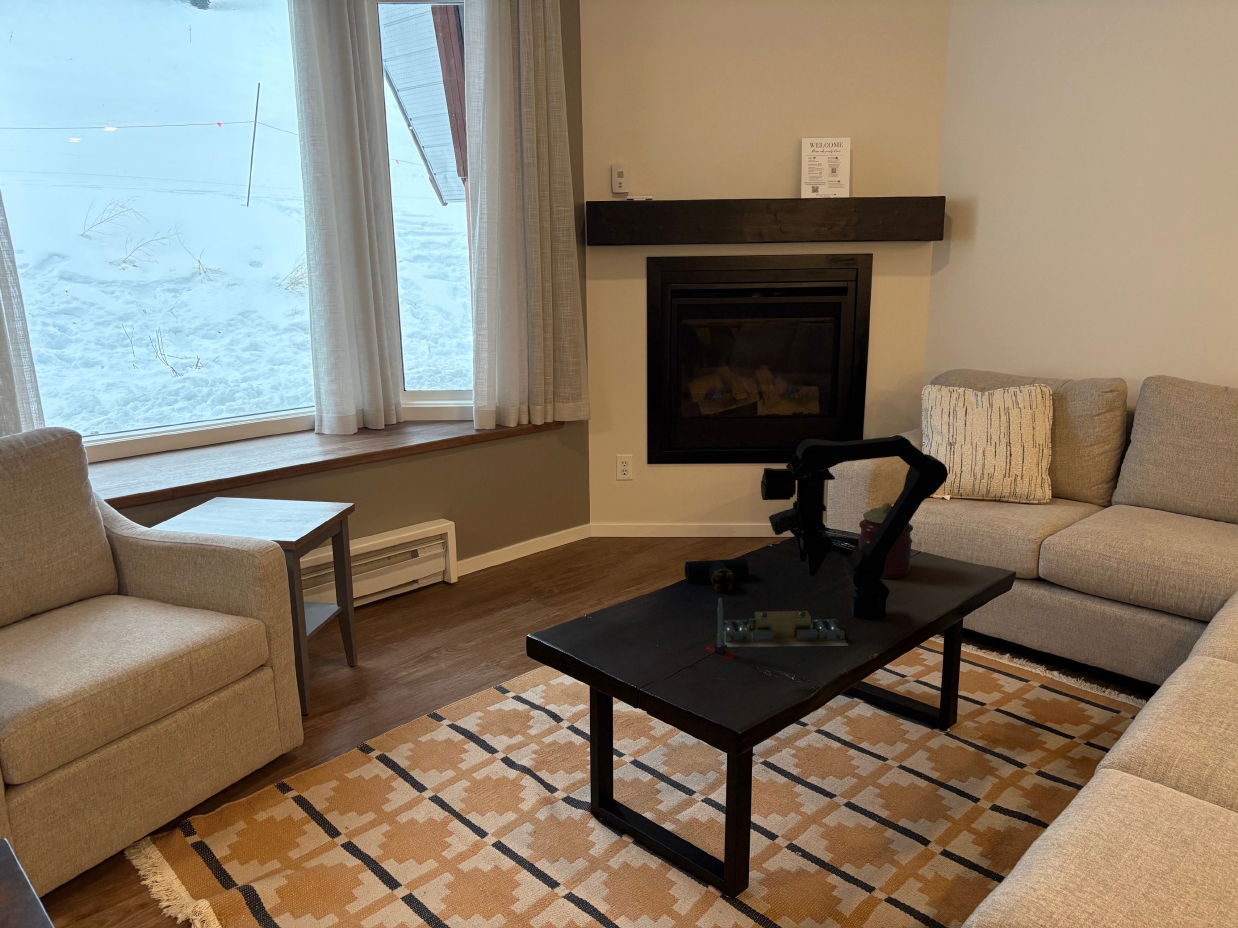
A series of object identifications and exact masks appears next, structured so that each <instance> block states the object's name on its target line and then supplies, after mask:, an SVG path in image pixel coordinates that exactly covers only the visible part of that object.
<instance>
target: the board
mask: <svg viewBox="0 0 1238 928" xmlns="http://www.w3.org/2000/svg"><path fill="white" fill-rule="evenodd" d="M811 629H812V623H811ZM747 630H748V631H751V642H726V641H725V633H726V632H725V630H724V642H725V645H727V648H749V647H750V648H761V647H762V648H763V647H764V648H765V647H766V648H767V647H768V648H771V647H774V648H776V647H778V648H779V647H840V646H841V647H842V646H843V647H847V646H850V645H849V644H848V643H847V640H846V639H845V638H844V641H819V640H818V632H817V641H797V640H796V638H773V642H753V630H749V623H747ZM827 630H829V629H827ZM735 632H738V631H737V630H735Z"/></svg>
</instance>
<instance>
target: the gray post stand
mask: <svg viewBox="0 0 1238 928" xmlns="http://www.w3.org/2000/svg"><path fill="white" fill-rule="evenodd" d="M717 599H718V605H717V606H718V607H717V610H716V611H717V633H716V634H717V635H716V644H715V645H714V647H712V646H711V647H710V646H706V647H705V651H706V652H709V653H712V654H714V653H715V654H718V655H721V656H722V657H723V658H726V659H728V660H732V659H735V658H736V657H737V656H738V655H737V654H735V653H732V652H728V647H727V645H725V642H724V620H725V617H724V607H723V597H718V598H717Z"/></svg>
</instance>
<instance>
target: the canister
mask: <svg viewBox="0 0 1238 928" xmlns="http://www.w3.org/2000/svg"><path fill="white" fill-rule="evenodd" d="M892 506H893V505H892V504H891V503H889V502H885V503H883V504H882V505H881V507H874V508H871V509H869V511H866V512H864V513H862V517H863V520H861V521H859V523H858V525H859V526H858V527H860V533H859V535H858V548H860V549H862V548H863V547H865V546H866V545H868V543H869V542H870V541H871V539H872V538H873V536H874V534H875V533H876V531H877V530H878V528H879V527H880V525H881V524H882V522H883V520H884V519H885V517H886V516H887V514H888V513H889V511H890V509H891V508H892ZM913 530H914V527H913V525H912V524H911V523H910V522H909V523H908V525H907V526H906V528H905V529H904V531H903V532H902V534H901V535H900V537H899V538H898V540H897V542H896V543H895V545H894V546H893V548H892V549H891V551H890V552H889V554H888V556H887V558H886V563H885V568H884V572H883V574H882V577H881V579H899V578H900V579H901V578H904V577H906V576H908V574H909V573H910V570H911V555H912V554H911V553H912V543H913V539H912V537H911V532H913Z"/></svg>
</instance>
